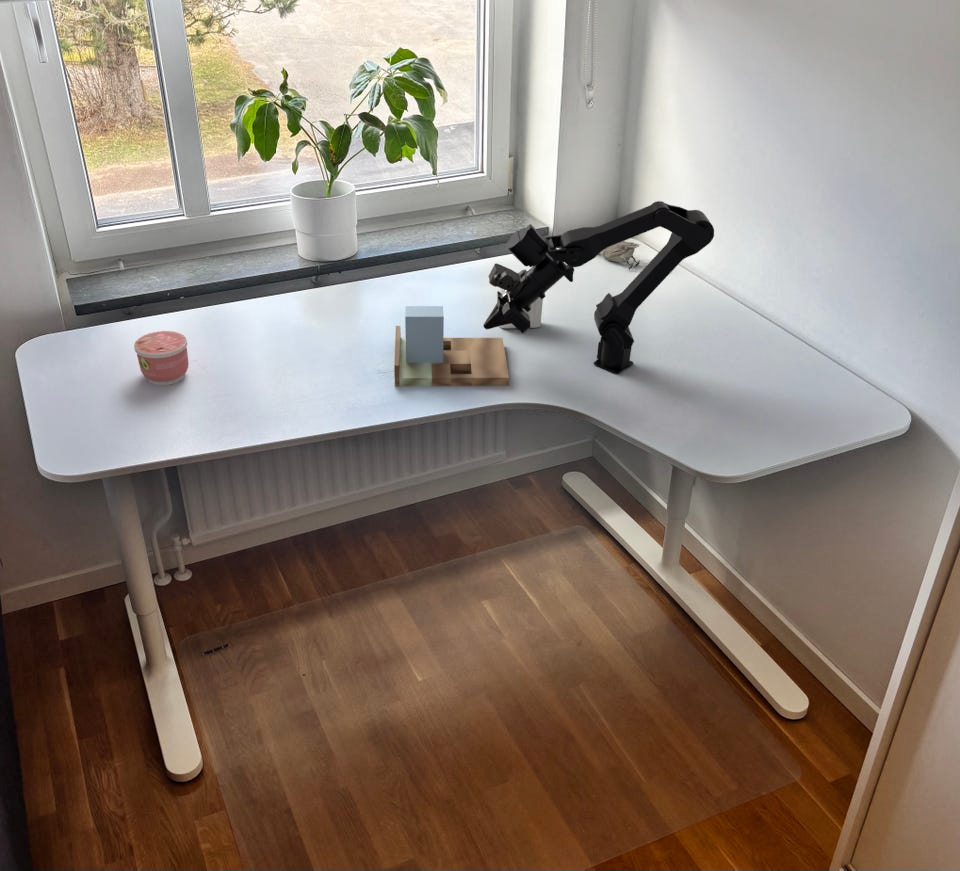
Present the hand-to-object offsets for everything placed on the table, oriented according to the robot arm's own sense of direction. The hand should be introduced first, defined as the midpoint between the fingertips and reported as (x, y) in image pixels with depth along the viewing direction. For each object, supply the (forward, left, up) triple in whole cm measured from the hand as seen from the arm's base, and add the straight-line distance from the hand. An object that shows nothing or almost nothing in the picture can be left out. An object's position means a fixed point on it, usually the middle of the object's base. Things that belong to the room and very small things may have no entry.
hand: (484, 327), depth 203 cm
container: (+45, +51, -9) cm, 68 cm away
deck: (+4, +4, -9) cm, 11 cm away
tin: (+9, +9, -7) cm, 15 cm away
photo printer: (+7, -20, -9) cm, 23 cm away
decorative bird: (+13, -68, -10) cm, 70 cm away
